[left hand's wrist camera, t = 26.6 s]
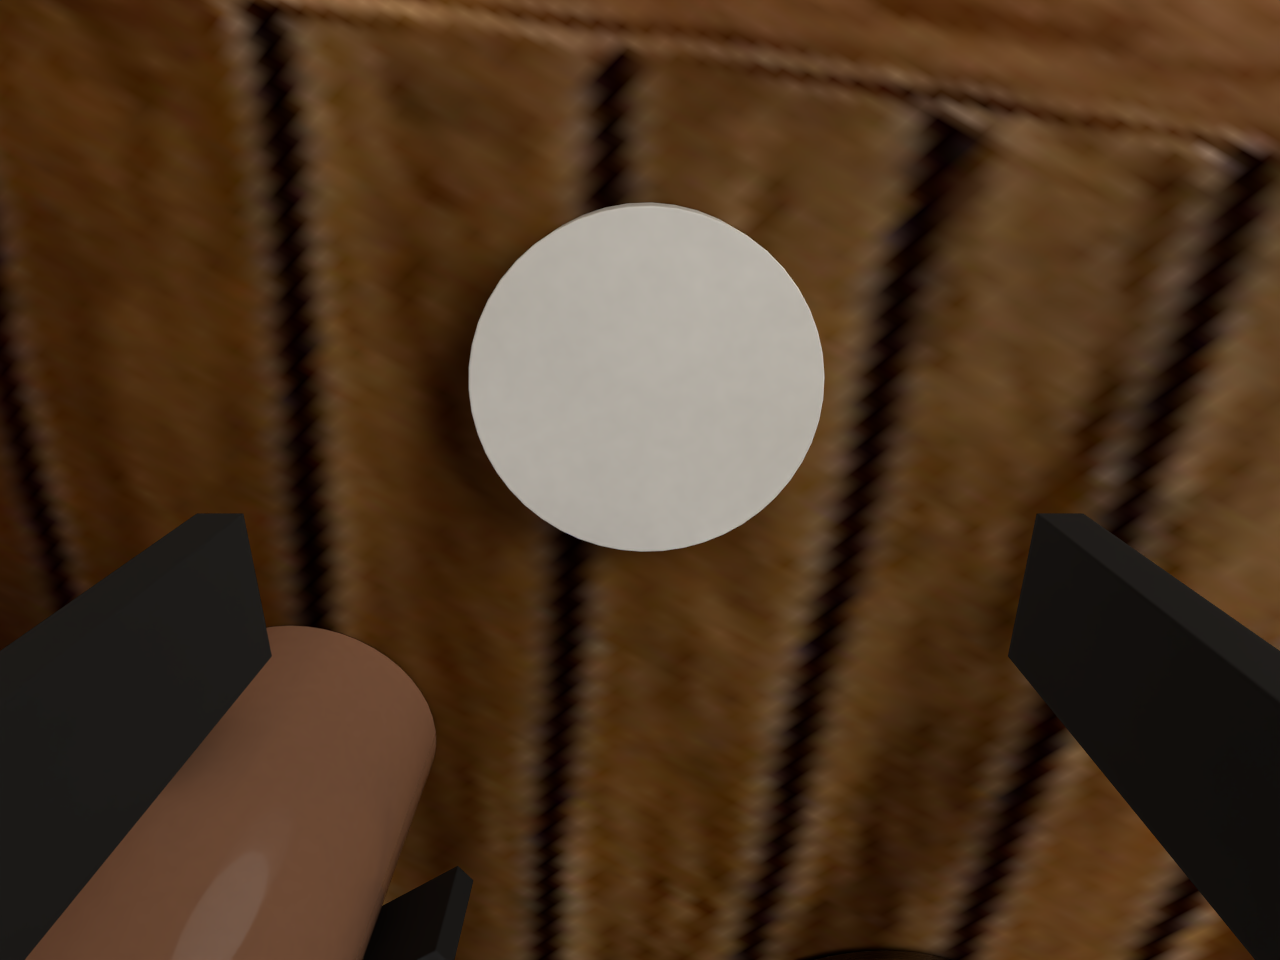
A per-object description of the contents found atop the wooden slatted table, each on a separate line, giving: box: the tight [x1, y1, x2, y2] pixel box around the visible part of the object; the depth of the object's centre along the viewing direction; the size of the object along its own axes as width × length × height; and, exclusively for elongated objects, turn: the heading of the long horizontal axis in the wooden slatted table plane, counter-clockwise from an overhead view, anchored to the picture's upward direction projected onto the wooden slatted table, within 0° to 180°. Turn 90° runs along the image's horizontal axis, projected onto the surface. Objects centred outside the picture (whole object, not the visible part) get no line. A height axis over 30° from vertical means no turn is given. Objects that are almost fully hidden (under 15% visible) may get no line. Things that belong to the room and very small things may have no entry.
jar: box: [25, 625, 436, 960], centre depth 20 cm, size 9×9×15 cm
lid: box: [469, 203, 824, 552], centre depth 21 cm, size 10×10×2 cm
